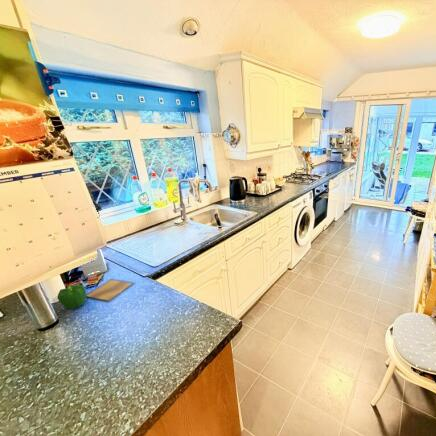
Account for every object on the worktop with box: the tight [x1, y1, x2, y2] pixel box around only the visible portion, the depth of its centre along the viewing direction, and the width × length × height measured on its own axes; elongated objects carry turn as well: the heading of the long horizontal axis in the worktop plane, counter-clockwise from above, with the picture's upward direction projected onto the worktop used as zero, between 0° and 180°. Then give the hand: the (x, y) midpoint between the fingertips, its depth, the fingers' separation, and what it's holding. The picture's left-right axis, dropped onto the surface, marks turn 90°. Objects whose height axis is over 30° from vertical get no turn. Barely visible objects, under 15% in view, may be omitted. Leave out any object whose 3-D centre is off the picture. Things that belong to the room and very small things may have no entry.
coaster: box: [86, 279, 132, 302], centre depth 107 cm, size 12×12×1 cm
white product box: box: [80, 248, 108, 278], centre depth 118 cm, size 9×9×15 cm
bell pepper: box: [56, 283, 87, 310], centre depth 96 cm, size 8×8×10 cm
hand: (81, 226), depth 117 cm, fingers open, 13 cm apart
